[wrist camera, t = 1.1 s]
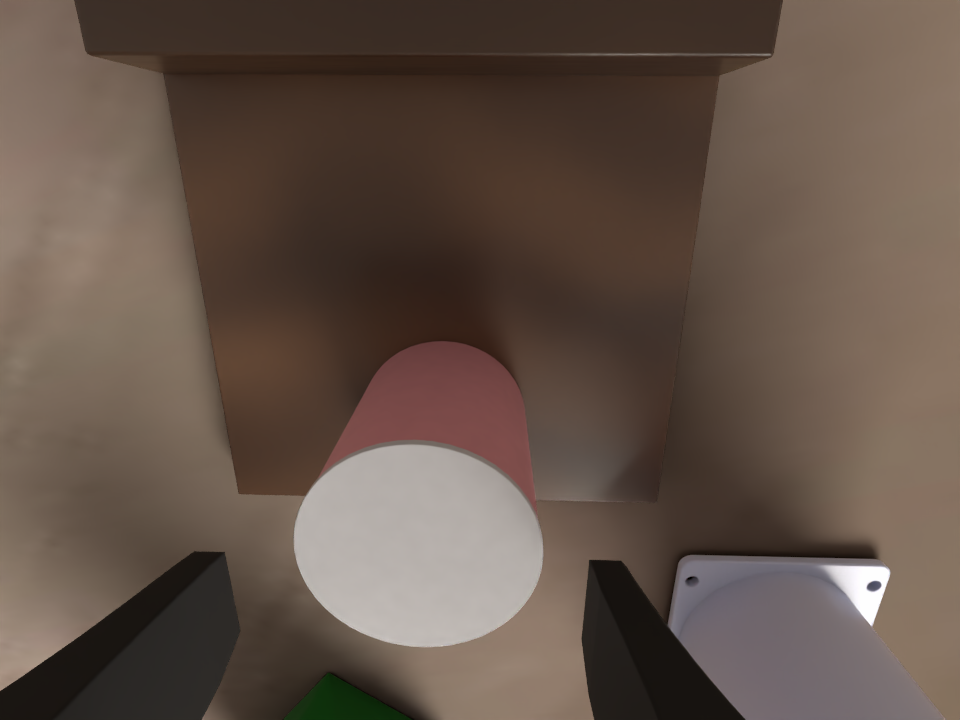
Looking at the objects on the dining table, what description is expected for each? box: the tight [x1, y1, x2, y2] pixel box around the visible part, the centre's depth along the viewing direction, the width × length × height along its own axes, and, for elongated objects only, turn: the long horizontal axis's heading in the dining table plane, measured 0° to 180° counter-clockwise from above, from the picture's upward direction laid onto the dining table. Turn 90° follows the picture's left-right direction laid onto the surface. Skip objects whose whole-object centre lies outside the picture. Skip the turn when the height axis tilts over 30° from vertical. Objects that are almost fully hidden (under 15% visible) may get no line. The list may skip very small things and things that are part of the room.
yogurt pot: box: [293, 341, 543, 647], centre depth 15 cm, size 6×6×7 cm
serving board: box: [74, 0, 783, 503], centre depth 16 cm, size 15×15×4 cm
